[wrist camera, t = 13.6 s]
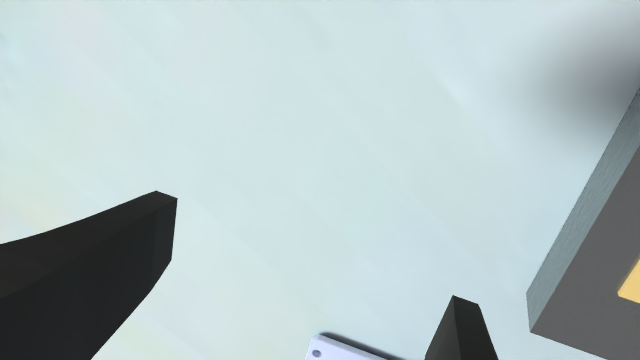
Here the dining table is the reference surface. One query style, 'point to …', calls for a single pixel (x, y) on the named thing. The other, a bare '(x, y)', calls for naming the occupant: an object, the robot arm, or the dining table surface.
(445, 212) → the dining table surface
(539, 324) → the rack plate
